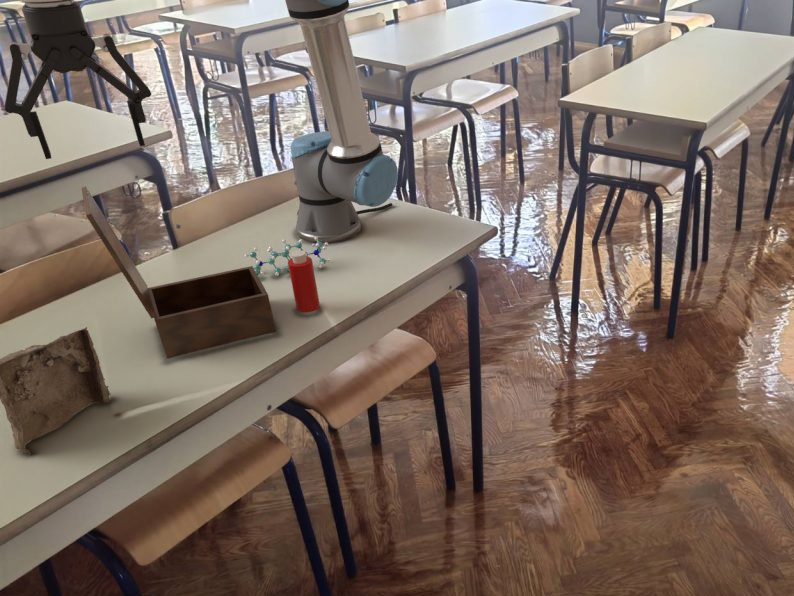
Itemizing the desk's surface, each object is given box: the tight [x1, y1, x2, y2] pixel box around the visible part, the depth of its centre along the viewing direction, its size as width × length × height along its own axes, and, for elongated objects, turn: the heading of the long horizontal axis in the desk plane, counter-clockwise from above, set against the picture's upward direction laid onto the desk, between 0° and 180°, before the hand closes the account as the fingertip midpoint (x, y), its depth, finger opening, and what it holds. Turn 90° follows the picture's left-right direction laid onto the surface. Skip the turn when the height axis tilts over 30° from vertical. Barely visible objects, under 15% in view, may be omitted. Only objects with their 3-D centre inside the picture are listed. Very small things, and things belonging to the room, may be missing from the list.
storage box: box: [148, 265, 277, 359], centre depth 144 cm, size 20×13×9 cm
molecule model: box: [243, 237, 332, 276], centre depth 165 cm, size 8×18×7 cm, turn 115°
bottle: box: [287, 250, 321, 313], centre depth 150 cm, size 5×5×13 cm
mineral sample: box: [0, 326, 112, 456], centre depth 119 cm, size 17×4×15 cm, turn 154°
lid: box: [81, 186, 156, 319], centre depth 131 cm, size 21×13×1 cm
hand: (96, 150), depth 121 cm, fingers open, 13 cm apart
